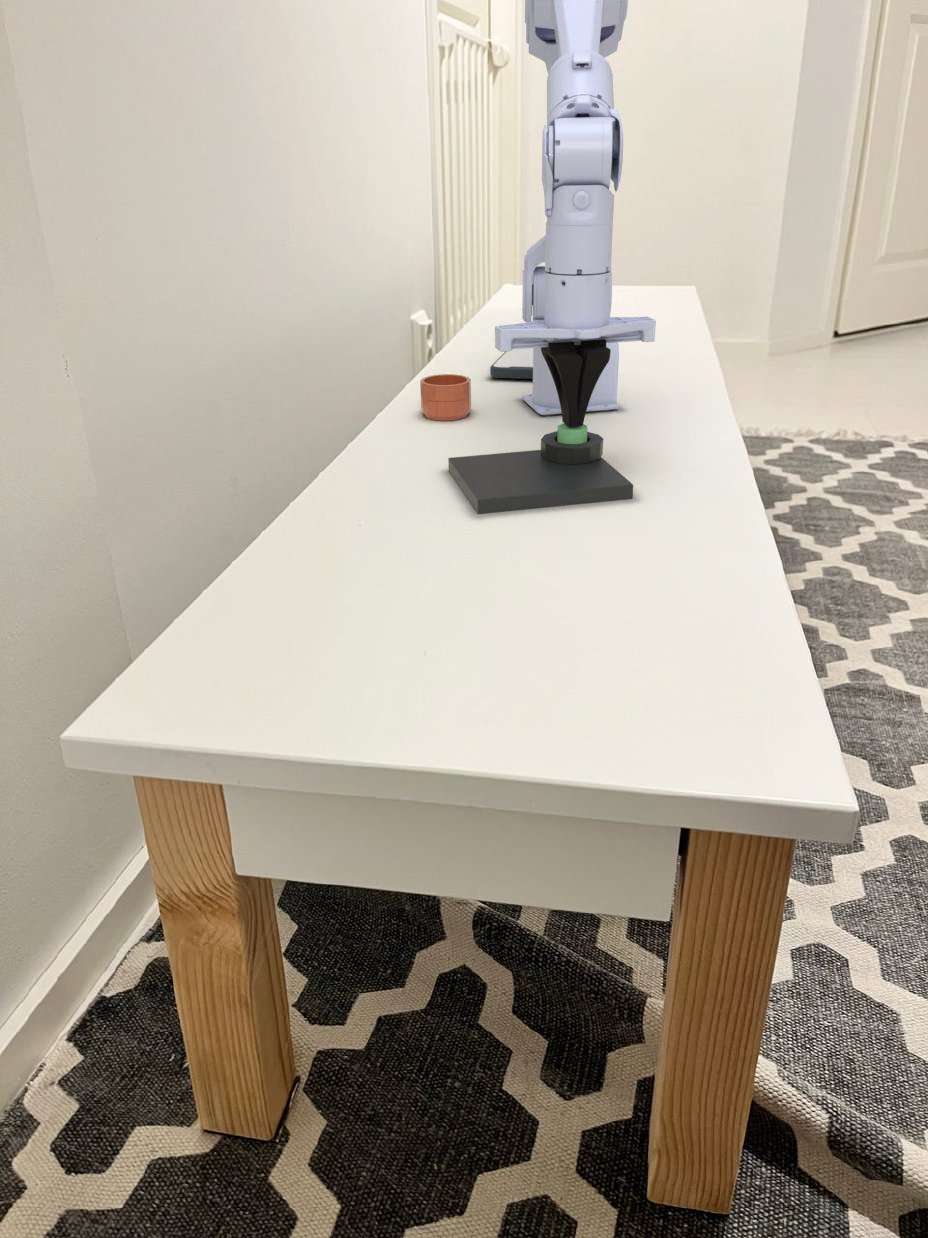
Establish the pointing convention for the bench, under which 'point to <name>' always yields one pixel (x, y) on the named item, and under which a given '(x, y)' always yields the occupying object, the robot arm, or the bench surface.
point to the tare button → (572, 434)
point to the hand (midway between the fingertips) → (572, 423)
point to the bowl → (445, 396)
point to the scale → (540, 477)
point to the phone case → (514, 364)
